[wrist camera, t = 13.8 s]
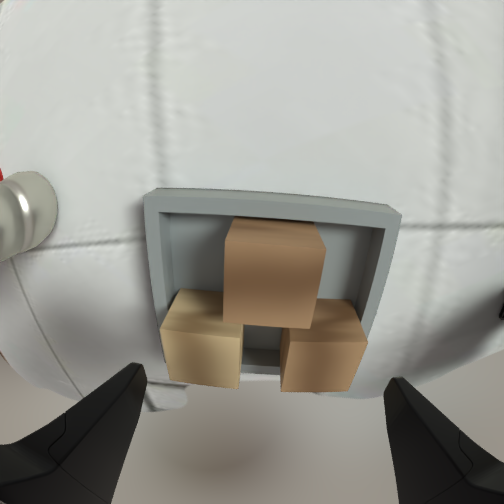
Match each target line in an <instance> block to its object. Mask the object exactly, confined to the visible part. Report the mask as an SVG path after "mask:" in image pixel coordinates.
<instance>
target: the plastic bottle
mask: <svg viewBox="0 0 504 504" xmlns="http://www.w3.org/2000/svg"><path fill="white" fill-rule="evenodd" d="M56 216H57V199H56V195H55V192H54V189H53V187H52V185H51V184H50V182H49V181H48V180H47V179H46V178H45V177H44V176H42V175H41V174H39V173H38V172H34V171H26V172H17V173H15V174H13V175H11V176H9V177H7V178H5V179H3V180H2V181H0V263H1V262H2V261H4V260H6V259H8V258H10V257H11V256H13V255H15V254H20V253H23V252H25V251H27V250H29V249H32V248H34V247H36V246H38V245H39V244H40V243H41V242H42V241H43V240H44V239H45V238H46V237H47V236H48V235H49V234H50V233H51V231H52V229H53V226H54V224H55V220H56Z"/></svg>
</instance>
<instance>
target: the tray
mask: <svg viewBox="0 0 504 504" xmlns="http://www.w3.org/2000/svg"><path fill="white" fill-rule="evenodd" d="M143 201H144V217H145V230H146V242H147V252H148V261H149V270H150V278H151V285H152V293H153V299H154V306H155V312H156V318H157V324H158V330H159V335H160V341H161V346H162V351H163V356H164V360H165V363H166V359H165V354H164V349H163V344H162V339H161V333H160V327H161V325H162V323H163V321H164V319H165V317H166V315H167V313H168V311H169V309H170V307H171V306H172V304H173V302H174V300H175V298H176V296H177V294H178V292H179V290H180V288H186V289H196V290H206V291H218V292H224V257H225V239H226V237H227V234H228V232H229V229H230V227H231V224H232V222H233V219H234V217H235V216H250V217H265V218H279V219H292V220H304V221H313V222H314V224H315V226H316V228H317V230H318V232H319V234H320V236H321V238H322V241H323V243H324V245H325V247H326V249H327V250H326V255H325V260H324V266H323V271H322V276H321V281H320V286H319V291H318V295H317V298H323V299H350V300H351V302H352V304H353V306H354V309H355V311H356V314H357V316H358V318H359V321H360V323H361V326H362V328H363V331H364V333H365V336H366V338H368V335H369V332H370V330H371V327H372V324H373V321H374V318H375V315H376V312H377V309H378V306H379V303H380V300H381V297H382V293H383V290H384V287H385V283H386V280H387V276H388V273H389V269H390V265H391V261H392V258H393V254H394V249H395V245H396V241H397V237H398V232H399V228H400V223H401V218H402V214H400V213H399V212H397V211H396V210H394V209H393V208H391V207H390V206H389V205H386V204H379V203H371V202H364V201H356V200H347V199H338V198H329V197H319V196H309V195H298V194H286V193H273V192H259V191H242V190H222V189H195V188H157V189H155V190H153V191H151V192H149V193H147V194H146V195H144V196H143ZM281 333H282V327H270V326H258V325H246V324H245V328H244V346H243V354H242V362H241V371H240V372H242V373H255V374H271V375H280V340H281Z"/></svg>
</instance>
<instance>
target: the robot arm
mask: <svg viewBox="0 0 504 504" xmlns="http://www.w3.org/2000/svg"><path fill="white" fill-rule="evenodd" d="M499 318H500V319H501V320H504V307H503V309H502V311H501V313H500V315H499ZM146 386H147V377H146V373H145V370H144V367H143V365H142V364H139V363H134V362H132V363H130V364H129V365H127V366H126V367H125V368H123V369H122V370H121V371H119V372H118V373H117V374H115V375H114V376H113V377H111V378H110V379H109V380H107V381H106V382H105V383H103V384H102V385H101V386H99V387H98V388H97V389H95V390H94V391H93V392H91V393H90V394H89V395H87V396H86V397H85V398H83V399H82V400H81V401H79V402H78V403H77V404H75V405H74V406H72V407H71V408H70V409H68V410H67V411H66V412H65V413H63V414H62V415H60V416H59V417H57V418H56V419H54V420H53V421H52V422H50V423H49V424H47V425H45V426H44V427H42V428H40V429H39V430H37V431H35V432H33V433H31V434H30V435H28V436H26V437H24V438H22V439H21V440H19V441H17V442H14V443H11V444H6V445H0V504H111V501H112V498H113V495H114V492H115V488H116V485H117V482H118V479H119V476H120V473H121V470H122V467H123V463H124V460H125V457H126V454H127V452H128V449H129V446H130V443H131V440H132V437H133V434H134V431H135V428H136V426H137V423H138V419H139V416H140V412H141V408H142V403H143V399H144V395H145V390H146ZM384 405H385V415H386V425H387V433H388V438H389V443H390V448H391V454H392V459H393V465H394V470H395V476H396V484H397V491H398V499H399V504H504V463H503V462H501V461H499V460H498V459H496V458H495V457H494V456H492V455H491V454H490V453H488V452H487V451H485V450H484V449H483V448H481V447H480V446H479V445H477V444H476V443H475V442H474V441H473V440H471V439H470V438H469V437H468V436H467V435H466V434H465V433H463V432H462V431H461V430H460V429H459V428H458V427H457V426H456V425H455V424H454V423H453V422H451V421H450V420H449V419H448V418H447V417H446V416H445V415H444V414H442V412H441V411H439V410H438V409H437V408H436V407H435V406H434V405H433V404H432V403H431V402H430V401H428V400H427V399H426V398H425V397H424V396H423V395H422V394H421V393H420V392H419V391H417V390H416V389H415V388H414V387H413V386H412V385H411V384H410V383H409V382H408V381H406V380H405V379H404V378H403V377H393V378H392V379H391V380H390V382H389V384H388V385H387V387H386V389H385V391H384Z"/></svg>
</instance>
